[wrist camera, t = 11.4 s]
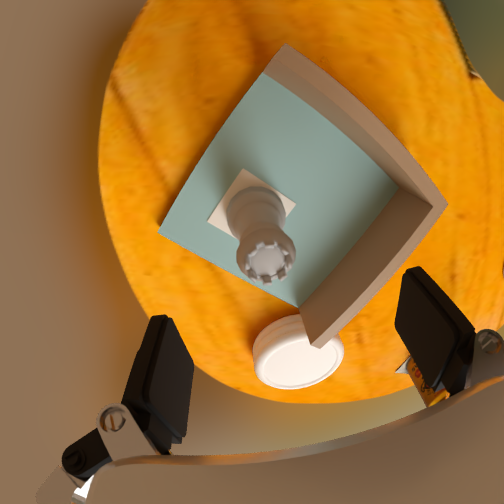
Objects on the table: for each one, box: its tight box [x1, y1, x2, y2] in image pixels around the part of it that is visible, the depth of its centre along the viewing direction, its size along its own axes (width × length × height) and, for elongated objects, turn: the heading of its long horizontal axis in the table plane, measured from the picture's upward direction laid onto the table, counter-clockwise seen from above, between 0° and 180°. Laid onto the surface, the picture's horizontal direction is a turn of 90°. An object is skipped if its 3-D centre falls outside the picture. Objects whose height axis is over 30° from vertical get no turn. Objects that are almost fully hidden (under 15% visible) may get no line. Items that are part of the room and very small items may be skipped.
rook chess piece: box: [226, 186, 296, 286], centre depth 17 cm, size 4×4×8 cm
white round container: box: [253, 314, 344, 389], centre depth 28 cm, size 10×10×4 cm
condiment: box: [395, 356, 447, 408], centre depth 30 cm, size 7×8×12 cm
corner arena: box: [157, 43, 448, 349], centre depth 19 cm, size 16×16×6 cm
